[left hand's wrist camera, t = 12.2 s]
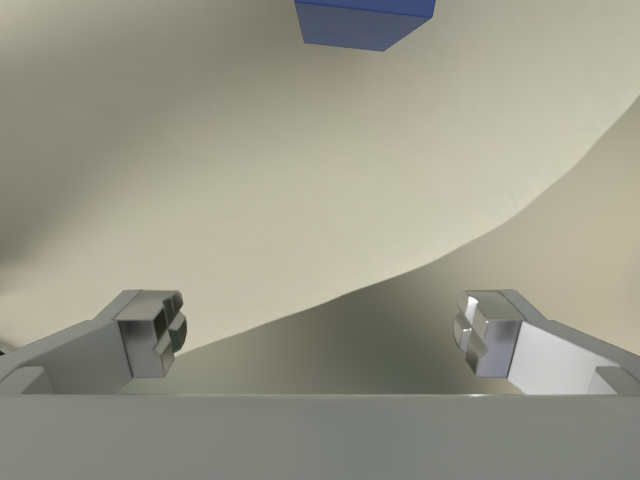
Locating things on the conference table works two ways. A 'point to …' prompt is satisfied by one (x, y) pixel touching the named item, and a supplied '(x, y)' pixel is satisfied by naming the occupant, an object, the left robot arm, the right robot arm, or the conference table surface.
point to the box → (361, 21)
